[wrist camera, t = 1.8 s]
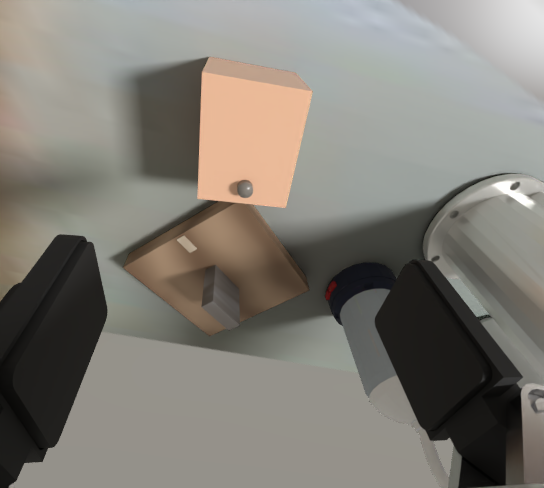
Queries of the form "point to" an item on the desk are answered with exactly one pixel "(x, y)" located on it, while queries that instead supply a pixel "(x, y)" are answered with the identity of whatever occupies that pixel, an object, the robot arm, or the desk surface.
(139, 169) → the desk surface
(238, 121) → the light orange block
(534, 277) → the robot arm
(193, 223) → the stand
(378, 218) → the desk surface
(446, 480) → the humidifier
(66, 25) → the desk surface
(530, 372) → the can
